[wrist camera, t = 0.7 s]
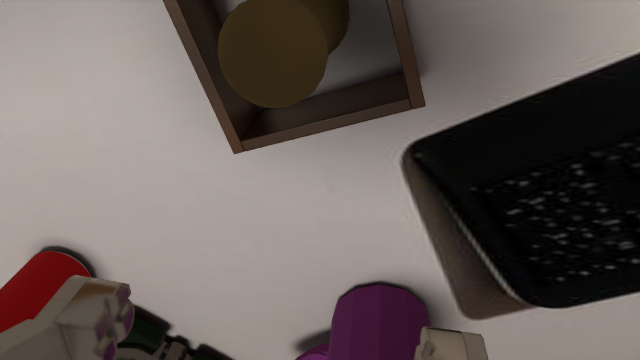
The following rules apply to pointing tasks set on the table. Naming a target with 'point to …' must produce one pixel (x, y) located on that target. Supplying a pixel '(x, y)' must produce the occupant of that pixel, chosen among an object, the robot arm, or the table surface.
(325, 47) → the cork
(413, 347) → the mug
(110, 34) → the table surface
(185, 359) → the flat green button pad
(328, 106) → the box
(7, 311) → the beverage can
